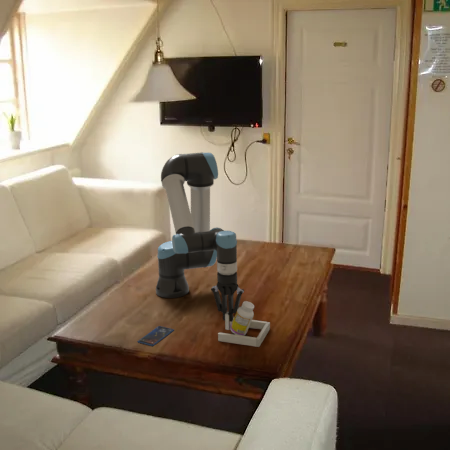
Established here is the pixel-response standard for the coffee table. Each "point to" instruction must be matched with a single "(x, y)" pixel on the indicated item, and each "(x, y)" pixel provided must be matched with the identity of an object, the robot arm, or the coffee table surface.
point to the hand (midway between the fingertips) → (228, 328)
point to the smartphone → (155, 336)
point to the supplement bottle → (242, 319)
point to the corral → (245, 339)
